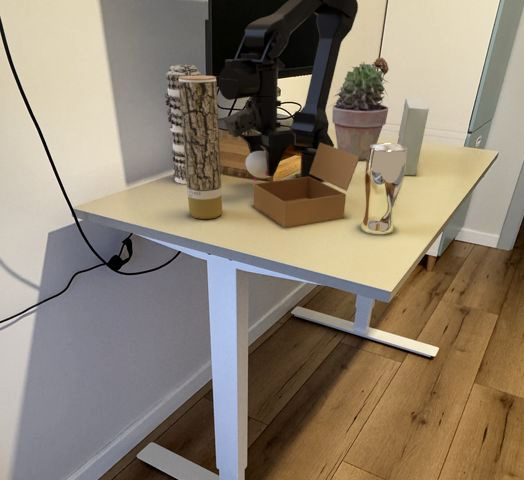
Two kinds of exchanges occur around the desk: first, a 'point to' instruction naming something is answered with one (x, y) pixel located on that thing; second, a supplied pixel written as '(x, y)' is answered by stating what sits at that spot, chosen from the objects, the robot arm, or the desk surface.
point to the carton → (298, 201)
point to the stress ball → (257, 164)
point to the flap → (334, 166)
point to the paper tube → (201, 144)
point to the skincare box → (413, 131)
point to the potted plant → (360, 109)
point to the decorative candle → (177, 116)
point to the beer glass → (383, 185)
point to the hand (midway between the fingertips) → (263, 172)
